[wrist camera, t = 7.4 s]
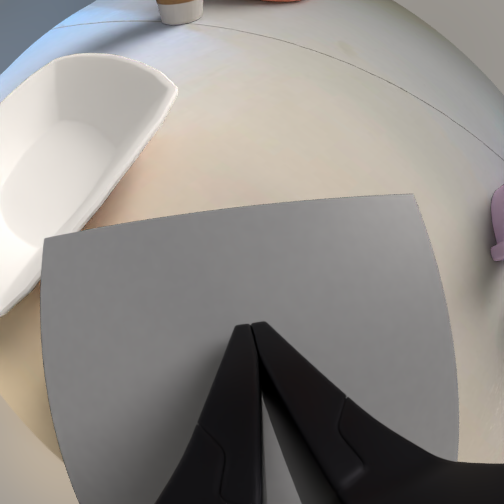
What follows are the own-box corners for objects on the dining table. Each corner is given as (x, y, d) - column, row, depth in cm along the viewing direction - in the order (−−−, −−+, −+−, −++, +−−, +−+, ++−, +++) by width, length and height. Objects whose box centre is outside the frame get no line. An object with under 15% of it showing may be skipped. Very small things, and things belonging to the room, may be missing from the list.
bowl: (221, 131, 21) (219, 80, 16) (51, 365, 14) (2, 365, 9) (76, 78, 24) (62, 46, 19) (-42, 222, 17) (-71, 201, 12)
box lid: (53, 244, 9) (43, 237, 8) (404, 202, 11) (413, 192, 10) (103, 532, 5) (96, 540, 5) (445, 471, 7) (456, 476, 6)
